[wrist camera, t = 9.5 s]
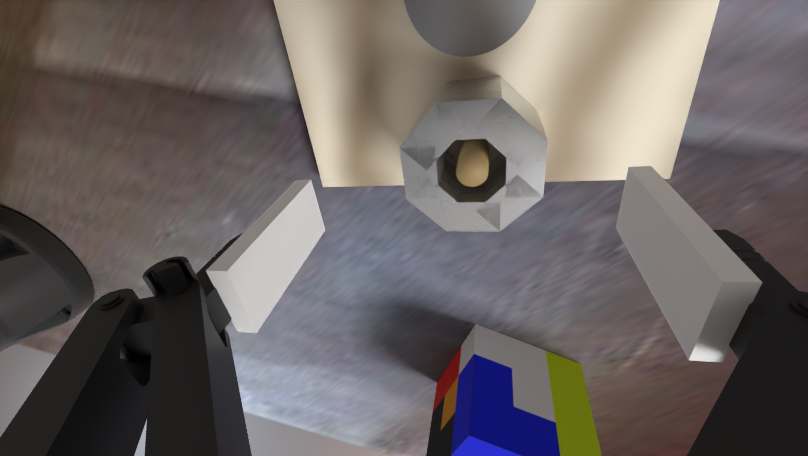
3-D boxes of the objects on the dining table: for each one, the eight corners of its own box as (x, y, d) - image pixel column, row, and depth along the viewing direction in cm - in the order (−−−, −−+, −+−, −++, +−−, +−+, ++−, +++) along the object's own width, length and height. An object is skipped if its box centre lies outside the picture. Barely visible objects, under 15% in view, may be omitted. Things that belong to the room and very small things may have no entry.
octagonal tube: (424, 191, 25) (410, 230, 21) (413, 84, 21) (393, 106, 17) (532, 189, 23) (540, 231, 19) (539, 72, 20) (551, 94, 16)
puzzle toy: (475, 323, 33) (468, 435, 24) (580, 363, 32) (609, 489, 24) (437, 382, 38) (421, 488, 30) (526, 415, 38) (534, 532, 30)
